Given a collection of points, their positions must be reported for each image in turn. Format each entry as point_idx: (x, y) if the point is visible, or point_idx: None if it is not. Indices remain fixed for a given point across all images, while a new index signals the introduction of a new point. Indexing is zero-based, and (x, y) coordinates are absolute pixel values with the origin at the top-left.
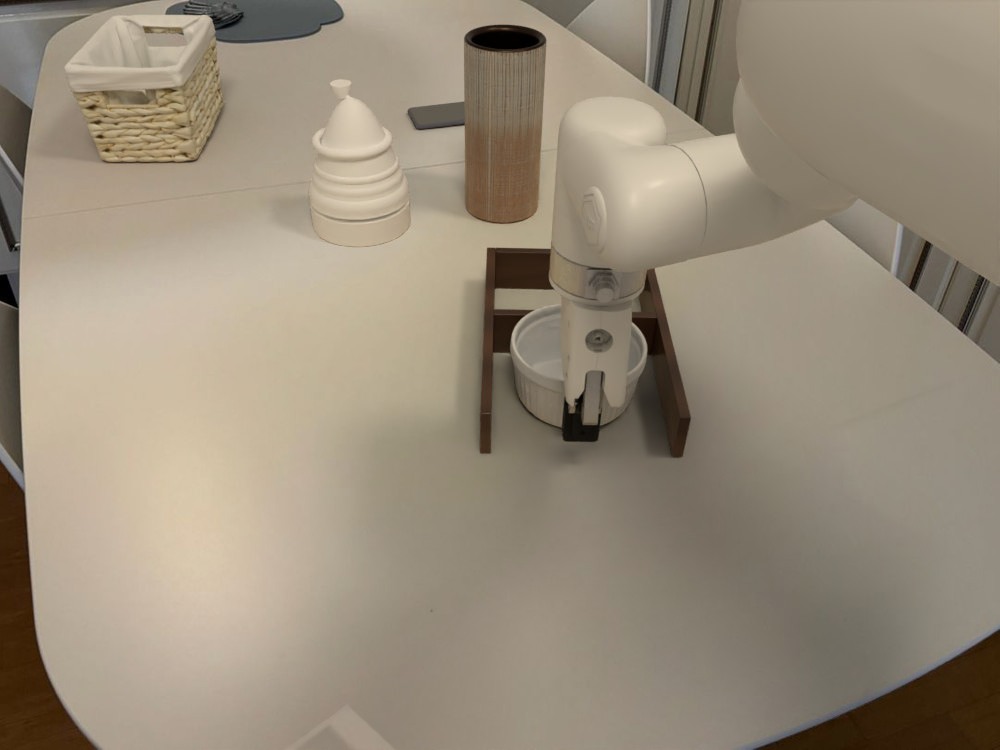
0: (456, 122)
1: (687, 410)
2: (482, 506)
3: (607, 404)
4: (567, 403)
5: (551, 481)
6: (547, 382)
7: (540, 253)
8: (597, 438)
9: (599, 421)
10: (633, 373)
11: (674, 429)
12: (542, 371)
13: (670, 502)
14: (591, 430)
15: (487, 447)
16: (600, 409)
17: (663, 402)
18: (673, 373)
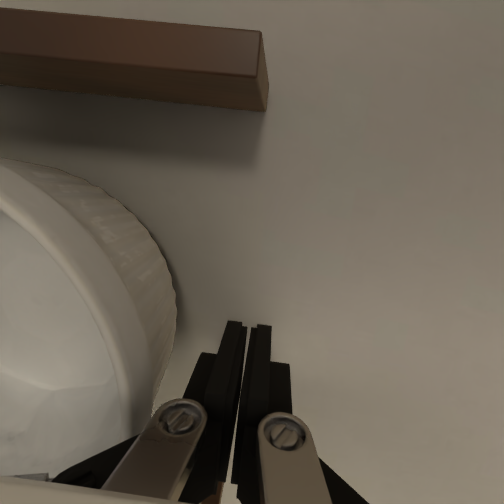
0: None
1: (218, 35)
2: (349, 483)
3: (149, 285)
4: (223, 481)
5: (307, 375)
6: None
7: None
8: (270, 329)
9: (268, 365)
10: (53, 234)
11: (228, 95)
12: (3, 351)
13: (408, 154)
14: (290, 381)
15: None
16: (316, 452)
17: (84, 89)
18: (2, 38)
